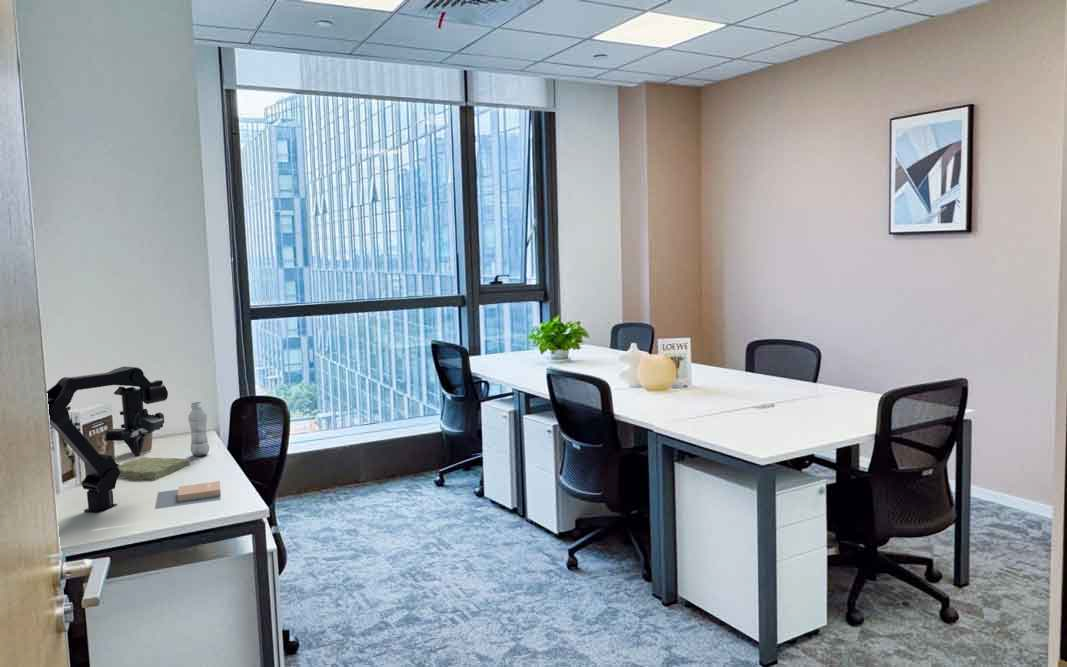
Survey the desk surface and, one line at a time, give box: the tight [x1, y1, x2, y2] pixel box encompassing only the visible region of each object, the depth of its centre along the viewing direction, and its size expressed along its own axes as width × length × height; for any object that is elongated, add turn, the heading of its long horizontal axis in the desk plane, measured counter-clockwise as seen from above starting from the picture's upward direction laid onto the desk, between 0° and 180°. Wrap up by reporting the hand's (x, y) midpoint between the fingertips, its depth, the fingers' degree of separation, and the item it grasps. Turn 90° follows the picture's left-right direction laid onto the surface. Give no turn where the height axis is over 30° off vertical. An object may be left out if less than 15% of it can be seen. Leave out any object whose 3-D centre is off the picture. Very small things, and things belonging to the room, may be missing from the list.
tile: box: [177, 481, 222, 502], centre depth 244 cm, size 2×10×12 cm
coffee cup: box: [130, 431, 153, 455], centre depth 302 cm, size 10×10×12 cm
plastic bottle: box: [187, 401, 210, 457], centre depth 293 cm, size 6×7×20 cm
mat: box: [154, 489, 221, 510], centre depth 243 cm, size 18×18×1 cm
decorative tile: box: [117, 456, 190, 481], centre depth 273 cm, size 19×20×4 cm
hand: (137, 456), depth 243 cm, fingers closed
